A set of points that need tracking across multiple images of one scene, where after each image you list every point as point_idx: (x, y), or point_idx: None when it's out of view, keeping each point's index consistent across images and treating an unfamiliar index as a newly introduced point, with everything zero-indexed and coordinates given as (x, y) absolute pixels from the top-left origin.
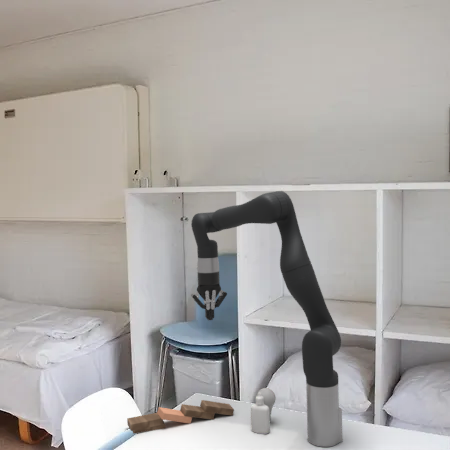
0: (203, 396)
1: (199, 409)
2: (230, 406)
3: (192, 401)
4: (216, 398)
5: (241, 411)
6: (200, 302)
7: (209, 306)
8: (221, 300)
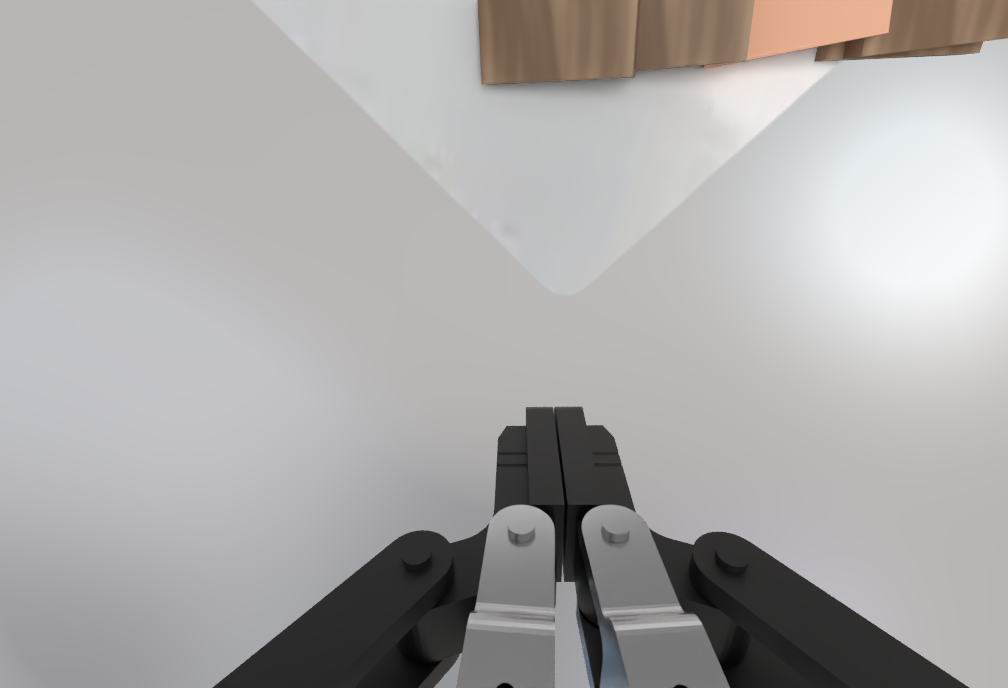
0: (551, 276)
1: (659, 12)
2: (485, 42)
3: (610, 241)
4: (505, 236)
5: (434, 38)
6: (842, 659)
7: (591, 556)
8: (297, 654)
